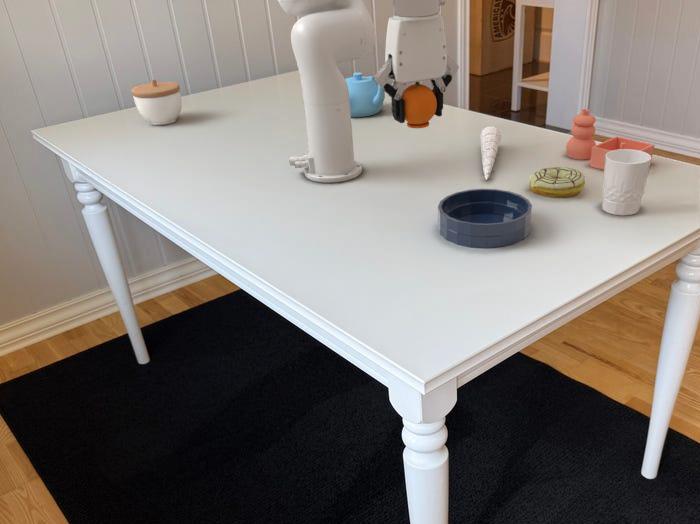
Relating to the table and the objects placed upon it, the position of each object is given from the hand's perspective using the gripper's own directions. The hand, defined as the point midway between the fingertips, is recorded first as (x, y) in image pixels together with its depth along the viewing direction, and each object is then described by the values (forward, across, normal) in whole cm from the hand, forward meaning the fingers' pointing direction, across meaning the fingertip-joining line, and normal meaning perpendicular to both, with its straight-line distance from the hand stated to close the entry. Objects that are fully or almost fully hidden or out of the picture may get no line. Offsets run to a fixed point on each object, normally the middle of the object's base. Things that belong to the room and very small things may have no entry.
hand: (417, 117), depth 122 cm
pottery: (+17, -46, -2) cm, 49 cm away
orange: (+1, 0, 0) cm, 1 cm away
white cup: (+17, -32, +21) cm, 42 cm away
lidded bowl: (+18, +33, -91) cm, 99 cm away
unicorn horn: (+17, -25, -15) cm, 34 cm away
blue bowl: (+17, -5, +16) cm, 24 cm away
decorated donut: (+17, -27, +7) cm, 33 cm away
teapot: (+18, -16, -68) cm, 72 cm away
